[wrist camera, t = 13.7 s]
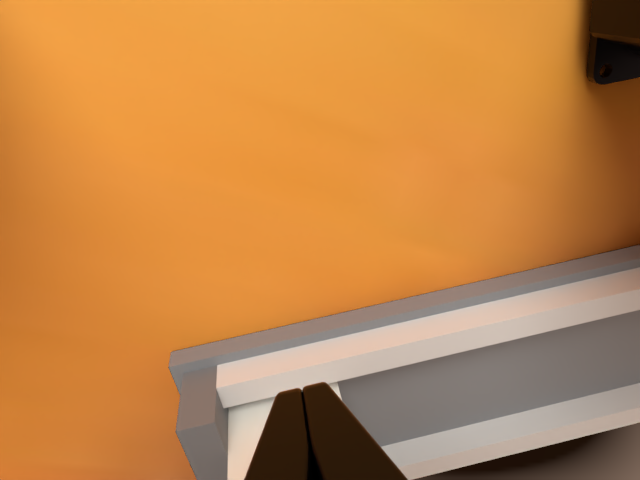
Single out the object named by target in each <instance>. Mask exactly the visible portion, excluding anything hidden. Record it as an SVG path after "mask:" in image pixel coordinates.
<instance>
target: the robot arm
mask: <svg viewBox="0 0 640 480" xmlns="http://www.w3.org/2000/svg"><path fill="white" fill-rule="evenodd" d="M590 32H591V33H590V43H589V53H588V64H587V77H588V79H589V81H591V82H593V83H597V84H609V83H613V82H618V81H623V80H628V79H633V78H638V77H640V0H592V9H591V19H590ZM603 65H605V71H604V72H603V74H602V75H600V73H599V72H600V69H601V68H602V66H603ZM302 391H303V392H302ZM244 480H408V479H407V478H406V477H405V475H404V474H403V473H402V472H401V471H400V469H399V468H398V467H397V466H396V465H395V463H394V462H393V461H392V460H391V459H390V457H389V456H388V455H387V454H386V453H385V451H384V450H383V449H382V448H381V447H380V445H379V444H378V443H377V442H376V441H375V439H374V438H373V437H372V436H371V435H370V434H369V432H368V431H367V430H366V429H365V428H364V426H363V425H362V424H361V423H360V422H359V420H358V419H357V418H356V417H355V416H354V414H353V413H352V412H351V411H350V410H349V408H348V407H347V406H346V405H345V404H344V402H343V401H342V400H341V399H340V398H339V396H338V395H337V394H336V393H335V392H334V390H333V389H332V388H331V387H330V386H329V385H328V384H327V383H326V382H320V383H316V384H311V385H307V386H304V388H303V390H301V389H300V388H295V389H290V390H286V391H282V392H279V393H278V394H277V395H276V397H275V399H274V402H273V404H272V407H271V410H270V412H269V415H268V418H267V420H266V423H265V426H264V428H263V431H262V434H261V436H260V439H259V441H258V444H257V447H256V449H255V452H254V455H253V457H252V460H251V463H250V465H249V468H248V471H247V473H246V476H245V478H244Z"/></svg>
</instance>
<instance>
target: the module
mask: <svg viewBox="0 0 640 480" xmlns="http://www.w3.org/2000/svg"><path fill="white" fill-rule="evenodd" d="M328 385H329V386H330V387H331V388H332V389H333V390H334V392H335V393H336V394H337V395H338V396H339V398H340V399H341V400H342V398H341V394H340V391H339V387H338V383H337V382H333V383H329V384H328ZM302 392H303V391H302ZM275 397H276V396H274V397H270V398H266V399H261V400H257V401H253V402H249V403H245V404H240V405H236V406H232V407H229V411H228V474H227V480H244V478H245V476H246V473H247V471H248V468H249V465H250V463H251V460H252V457H253V455H254V452H255V449H256V447H257V444H258V441H259V439H260V436H261V434H262V431H263V428H264V426H265V423H266V420H267V418H268V415H269V412H270V410H271V407H272V404H273V402H274V399H275Z"/></svg>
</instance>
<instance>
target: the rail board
mask: <svg viewBox="0 0 640 480" xmlns="http://www.w3.org/2000/svg"><path fill="white" fill-rule="evenodd" d="M169 370H170V372H171V374H172V377H173V379H174V382H175V384H176V386H177V389H178V391H179V393H180V402H179V409H178V417H177V424H176V434H177V436H178V438H179V441H180V443H181V445H182V447H183V449H184V452H185V454H186V456H187V458H188V461H189V463H190V465H191V467H192V470H193V472H194V474H195V476H196V479H197V480H227V474H228V411H229V407H232V406H236V405H240V404H245V403H249V402H253V401H257V400H261V399H266V398H270V397H274V396H276V395H277V394H278V393H279V392H282V391H286V390H290V389H295V388H300V389H301V390H303V388H304V386H307V385H311V384H316V383H320V382H326V383H327V384H329V383H333V382H337V383H338V387H339V391H340V394H341V398H342V401H343V402H344V404H345V405H346V406H347V407H348V408H349V410H350V411H351V412H352V413H353V414H354V416H355V417H356V418H357V419H358V420H359V422H360V423H361V424H362V425H363V426H364V428H365V429H366V430H367V431H368V432H369V434H370V435H371V436H372V437H373V438H374V439H375V441H376V442H377V443H378V444H379V445H380V447H381V448H382V449H383V450H384V451H385V453H386V454H387V455H388V456H389V457H390V459H391V460H392V461H393V462H394V463H395V465H396V466H397V467H398V468H399V469H400V471H401V472H402V473H403V474H404V475H405V477H406V478H407V479H408V480H412V479H416V478H420V477H424V476H428V475H432V474H436V473H440V472H444V471H448V470H452V469H456V468H460V467H464V466H468V465H472V464H476V463H480V462H484V461H488V460H492V459H496V458H500V457H504V456H508V455H512V454H516V453H520V452H524V451H528V450H532V449H536V448H540V447H544V446H548V445H552V444H556V443H560V442H563V441H568V440H572V439H575V438H579V437H583V436H587V435H591V434H595V433H599V432H603V431H607V430H611V429H615V428H619V427H623V426H627V425H631V424H635V423H639V422H640V245H636V246H632V247H628V248H623V249H619V250H615V251H610V252H606V253H602V254H597V255H593V256H588V257H584V258H580V259H575V260H571V261H567V262H562V263H558V264H553V265H549V266H545V267H540V268H536V269H532V270H527V271H523V272H518V273H514V274H510V275H505V276H501V277H497V278H492V279H488V280H483V281H479V282H475V283H470V284H466V285H462V286H457V287H453V288H449V289H444V290H440V291H435V292H431V293H427V294H422V295H418V296H414V297H409V298H405V299H400V300H396V301H392V302H387V303H383V304H379V305H374V306H370V307H365V308H361V309H357V310H352V311H348V312H344V313H339V314H335V315H330V316H326V317H322V318H317V319H313V320H309V321H304V322H300V323H296V324H291V325H287V326H282V327H278V328H274V329H269V330H265V331H261V332H256V333H252V334H247V335H243V336H239V337H234V338H230V339H226V340H221V341H217V342H212V343H208V344H204V345H199V346H195V347H191V348H186V349H182V350H177V351H173V352H171V356H170V361H169Z"/></svg>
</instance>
